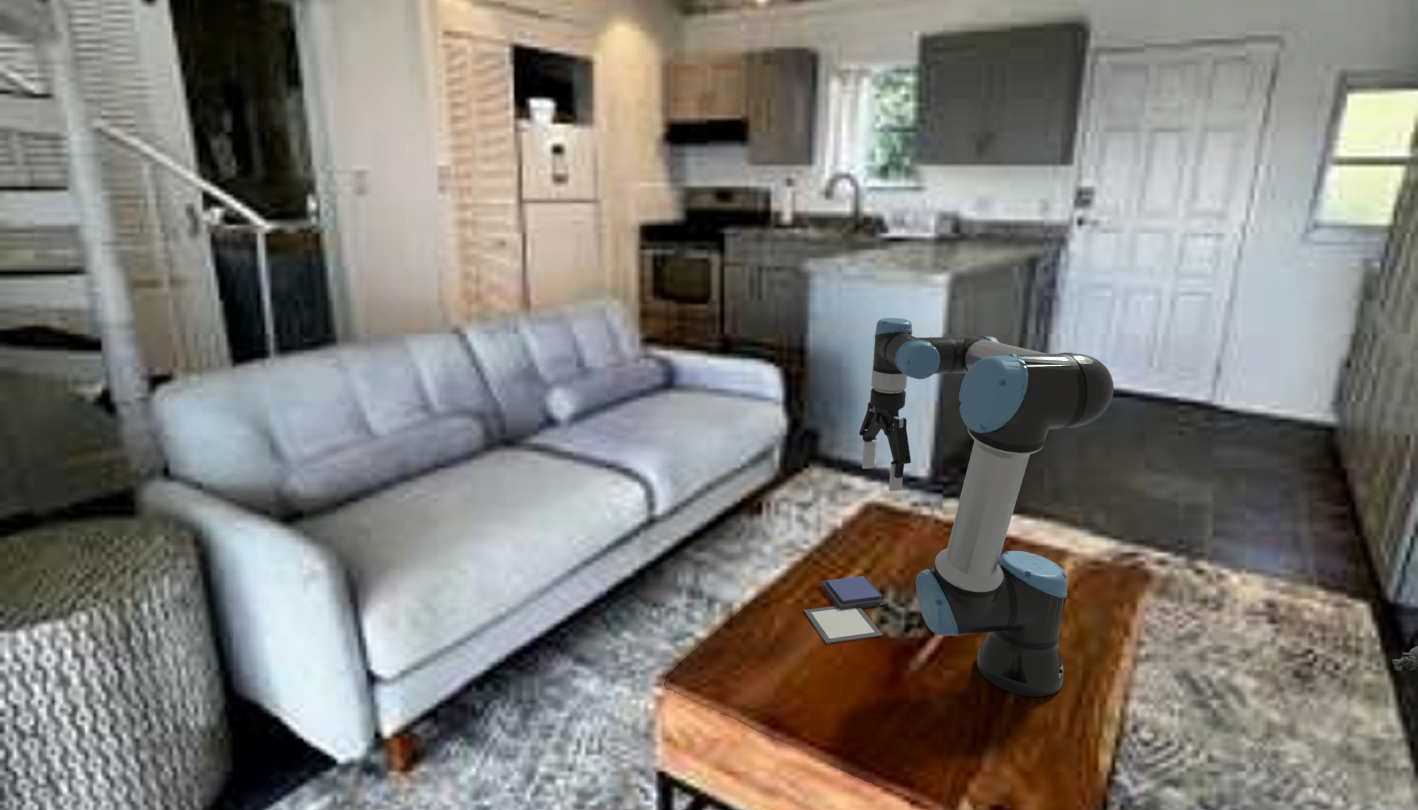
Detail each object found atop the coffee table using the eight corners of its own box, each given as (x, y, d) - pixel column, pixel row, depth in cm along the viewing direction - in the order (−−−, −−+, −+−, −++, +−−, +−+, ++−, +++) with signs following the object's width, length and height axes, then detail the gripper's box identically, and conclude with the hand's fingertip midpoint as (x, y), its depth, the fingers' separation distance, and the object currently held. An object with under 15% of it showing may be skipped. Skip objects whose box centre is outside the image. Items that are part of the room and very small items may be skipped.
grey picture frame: (882, 635, 155) (882, 634, 154) (826, 644, 152) (826, 642, 151) (856, 604, 166) (856, 603, 166) (803, 611, 163) (803, 610, 163)
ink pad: (886, 604, 166) (887, 597, 165) (840, 611, 163) (840, 603, 163) (864, 580, 176) (865, 573, 176) (820, 585, 174) (821, 578, 173)
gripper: (933, 403, 156) (923, 498, 162) (878, 374, 179) (871, 458, 185) (900, 405, 154) (891, 501, 160) (849, 375, 177) (843, 460, 183)
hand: (881, 478), depth 173 cm, fingers open, 13 cm apart
